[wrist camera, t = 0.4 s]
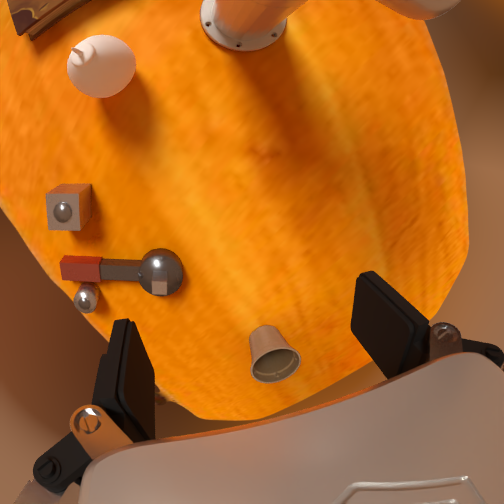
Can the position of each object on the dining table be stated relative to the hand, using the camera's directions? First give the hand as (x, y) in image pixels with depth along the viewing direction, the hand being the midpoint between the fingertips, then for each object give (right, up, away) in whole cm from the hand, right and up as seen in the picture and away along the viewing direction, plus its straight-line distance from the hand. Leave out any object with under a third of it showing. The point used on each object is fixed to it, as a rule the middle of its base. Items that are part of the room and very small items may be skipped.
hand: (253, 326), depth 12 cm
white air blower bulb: (-19, +28, +21) cm, 40 cm away
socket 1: (-27, +11, +27) cm, 40 cm away
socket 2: (-28, -4, +34) cm, 44 cm away
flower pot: (+2, -14, +47) cm, 49 cm away
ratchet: (-21, +1, +34) cm, 40 cm away
